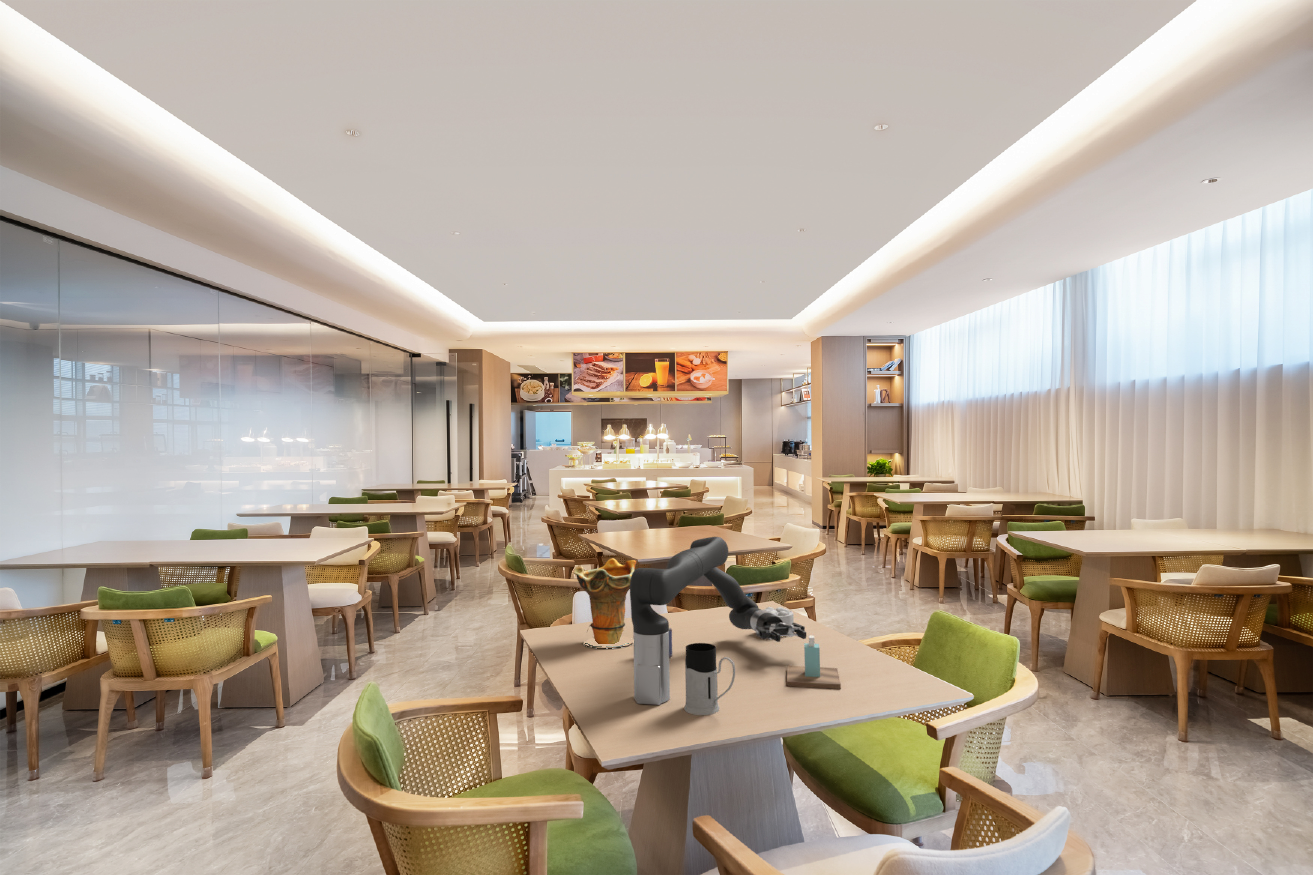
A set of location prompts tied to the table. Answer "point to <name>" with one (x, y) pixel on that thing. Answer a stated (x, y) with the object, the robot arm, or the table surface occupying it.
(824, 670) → the walnut board
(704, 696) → the glass holder
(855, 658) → the table surface
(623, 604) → the decorative vase
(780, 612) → the lumpy-topped squat cylinder
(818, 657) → the teal bottle
